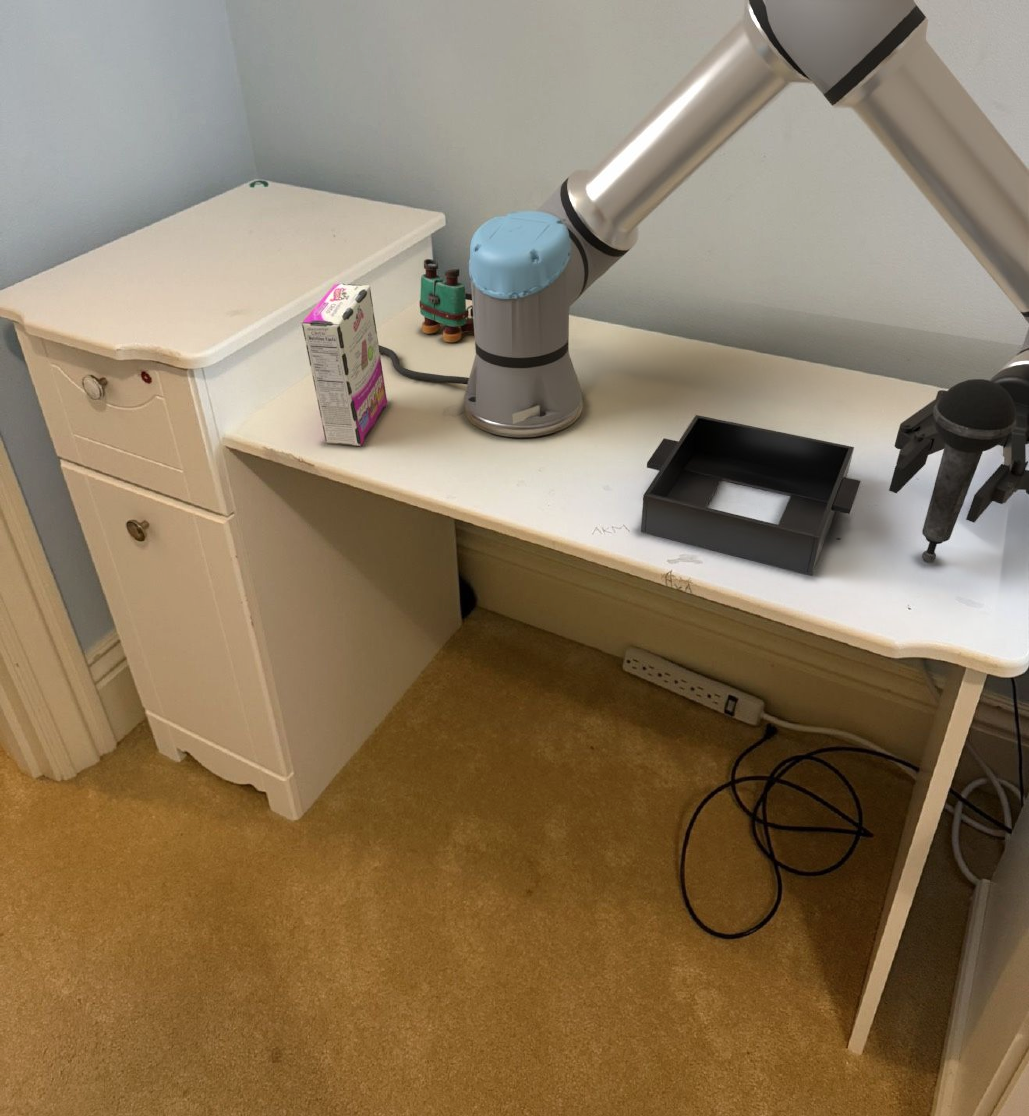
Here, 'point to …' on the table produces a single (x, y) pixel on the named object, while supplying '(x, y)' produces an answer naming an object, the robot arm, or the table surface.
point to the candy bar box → (345, 363)
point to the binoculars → (444, 303)
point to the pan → (756, 462)
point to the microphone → (963, 449)
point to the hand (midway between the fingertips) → (934, 494)
